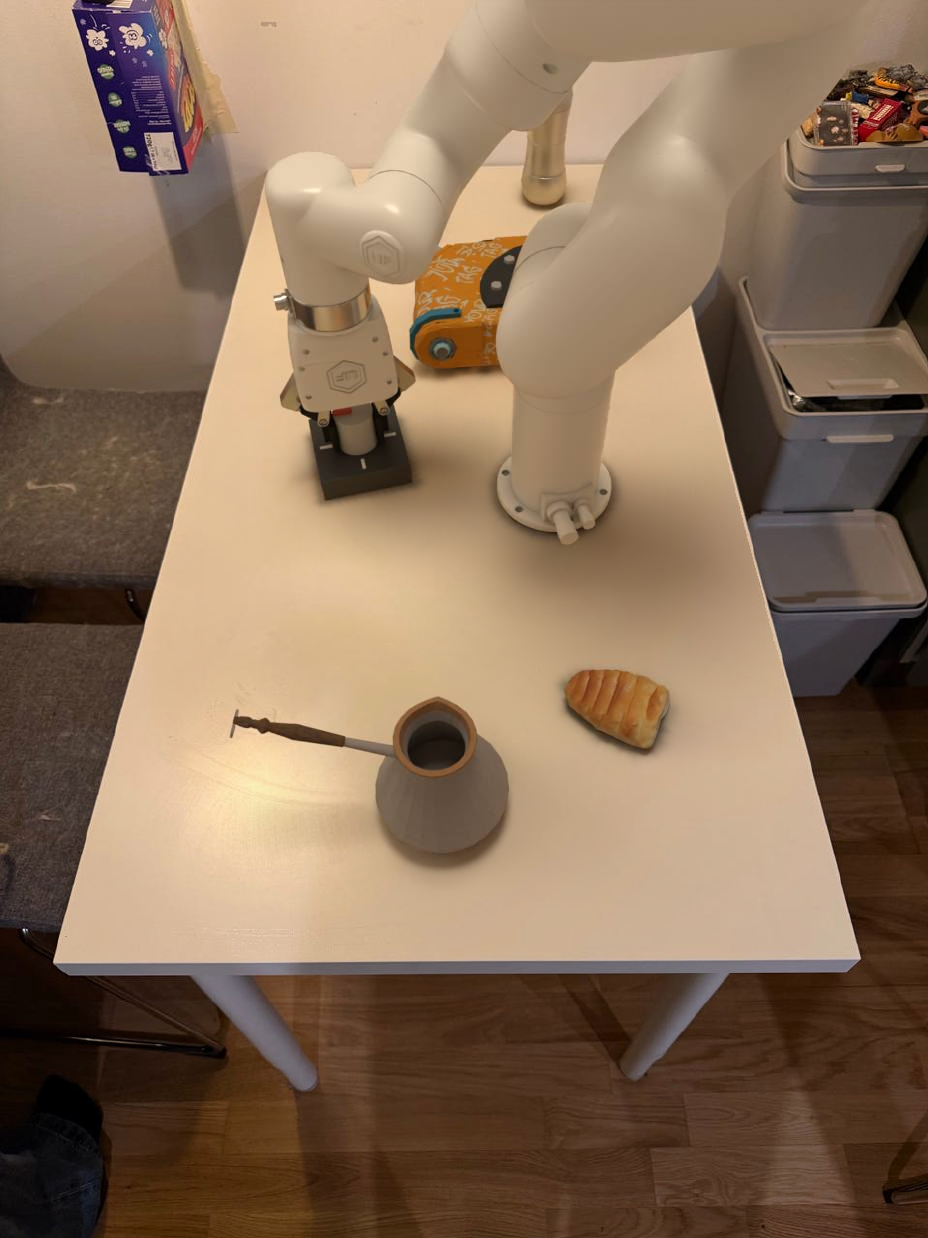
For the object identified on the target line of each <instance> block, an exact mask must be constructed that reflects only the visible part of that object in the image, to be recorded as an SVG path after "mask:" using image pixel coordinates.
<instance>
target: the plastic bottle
mask: <svg viewBox="0 0 928 1238" xmlns="http://www.w3.org/2000/svg"><path fill="white" fill-rule="evenodd" d="M573 97H574V89H573V87H572V88H571V90H570V91H569V92H568V93H567V95H566V96H565V97H564V98H563V100H562V101H561V102H560V103H559V105H558V106H557V107H556V108H555V110H554V111H553V112H552V114H551V115H550V116H549V117H548V118H547V120H546V121H545V122H544V123H543V124H542V125H541V126H539V127H538V128H536V129H534V130H531V131H526V133H527V135H526V138H527V140H526V152H525V158H524V164H523V165H524V166H523V169H522V174H521V179H520V183H521V189H522V193H523V195H524V196H525V199H527V201H529V202H530V203H532V204H535V205H539V206H549V205H554V204H555V203H557V202H559V201H560V200H561V198H563V196H564V194H565V190H566V187H567V170H566V138H567V136H566V135H567V130H568V124H569V123H568V122H569V118H570V114H571V113H570V112H571V109H572V103H573V100H574V99H573Z"/></svg>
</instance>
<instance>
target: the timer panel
mask: <svg viewBox="0 0 928 1238" xmlns="http://www.w3.org/2000/svg"><path fill="white" fill-rule="evenodd" d="M389 410H390V412H389V413H388V414H387V418H388V425H389V431H385V432H384V437H385V443H382V444H381V442H380V443H379V441H378V440H377V444H376V446H375V447H374V448H373V449H372V450H371V451H370V452H368V453H366V454H362V455H350V454H347V453H345V452H344V451H342V450H341V448H340V447H339V448H340V450H339V451H338V452H335V453H334V450H333V446H332V442H328V443H325V440H324V435H323V431H322V427H321V426H319V425H318V422H317V421H315V420H312V419H310V418H308V420H307V422H308V426H309V431H310V436H311V441H312V447H313V451H314V458H315V460H316V467H317V472H318V477H319V482H320V486H321V491H322V494H323V498H324V501H329V500H334V499H340V498H344V497H349V496H354V495H359V494H364V493H369V492H374V491H380V490H385V489H389V488H395V487H400V486H404V485H410V484H413V474H412V466H411V462H410V458H409V454H408V450H407V447H406V443H405V440H404V437H403V433H402V430H401V429H402V428H401V425H400V422H399V419H398V415H397V412H396V408H395V403H393V405H392V406H391V407H390V408H389ZM377 439H378V438H377Z"/></svg>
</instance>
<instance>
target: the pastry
mask: <svg viewBox="0 0 928 1238" xmlns="http://www.w3.org/2000/svg"><path fill="white" fill-rule="evenodd" d="M564 695H565V698H566V701H567V703H568V705H569V707H570V708H571V709H572V710H574V711H575V712H576V713H577V714H578V715H580V716H581V717H582V718H583V719H584V720H585V721H587V722H588V723H590V724H591V725H592V726H593V727H594V728H595V729H596V731H599V732H603V733H604V734H606V735H608V736H611V737H613V738H615V739H617V740H618V741H619V740H620V741H621V742H624V743H625V744H627V745H630V746H632V747H636V748H637V747H638V748H640V749H641V748H642V749H649V748H651V747H652V746H653V744H654V742H655V741H656V737H657V736H658V731H659V728H660V724H661V720H662V719H663V718H664V717H665V716H666V714H667V712H668V709H669V707H670V702H671V701H670V691H669V689H668V688H667V687H666V686H664V685H660V684H658V683H656V682H655V681H654V680H652V679H650V677H647V676H645V675H641V674H636V673H635V674H634V673H633V672H630V671H627V670H626V671H625V670H619V669H613V670H612V669H607V668H606V669H582V670H581V671H578V672H577V673H575V674H574V675H573V676H572V677H571V678H570V680H568V682H567V684H566V685H565V688H564Z"/></svg>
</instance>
